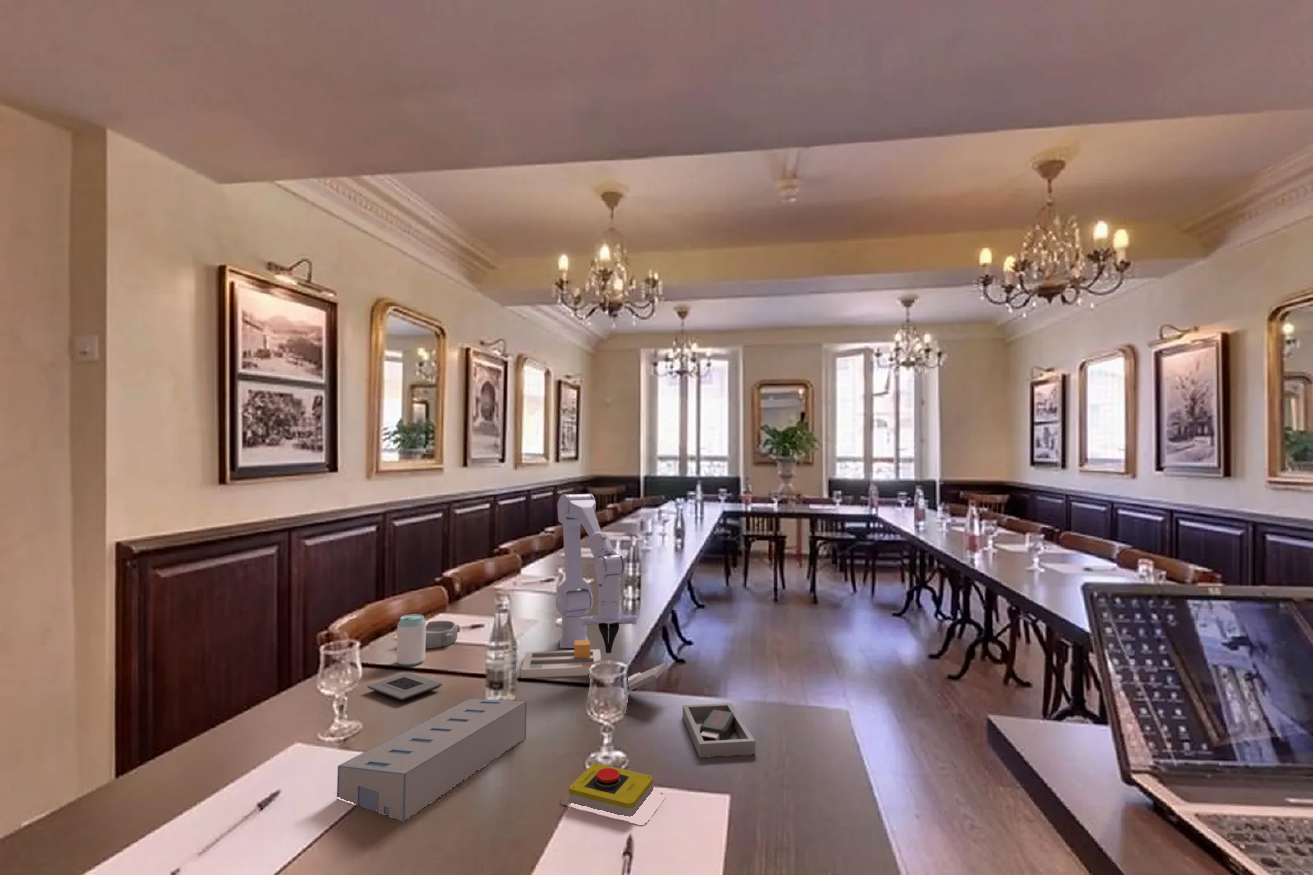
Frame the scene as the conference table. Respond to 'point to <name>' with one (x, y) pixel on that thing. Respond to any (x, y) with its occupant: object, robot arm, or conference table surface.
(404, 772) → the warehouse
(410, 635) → the can
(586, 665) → the plate
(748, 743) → the desk tray
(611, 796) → the emergency button
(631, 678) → the light switch
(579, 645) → the orange cube
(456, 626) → the dish
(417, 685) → the electrical outlet
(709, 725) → the usb drive
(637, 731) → the conference table surface
